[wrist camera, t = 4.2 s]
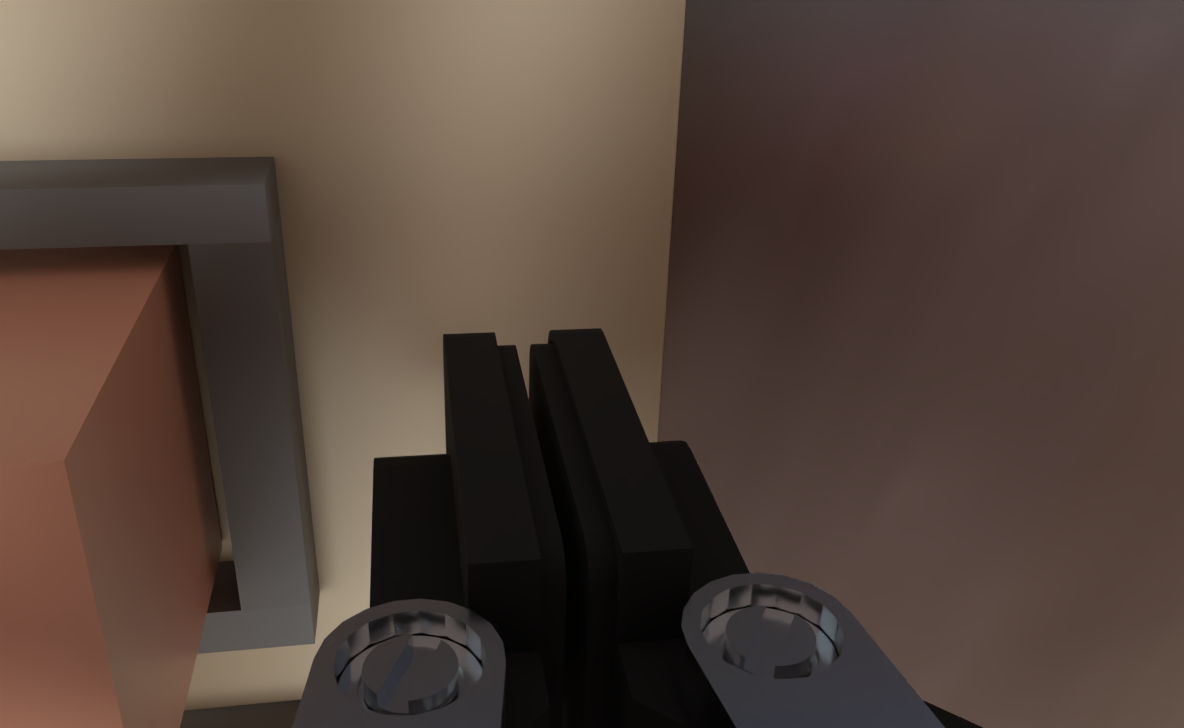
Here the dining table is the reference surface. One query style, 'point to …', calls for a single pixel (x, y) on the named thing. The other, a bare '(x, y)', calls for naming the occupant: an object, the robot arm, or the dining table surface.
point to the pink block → (100, 490)
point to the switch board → (346, 242)
